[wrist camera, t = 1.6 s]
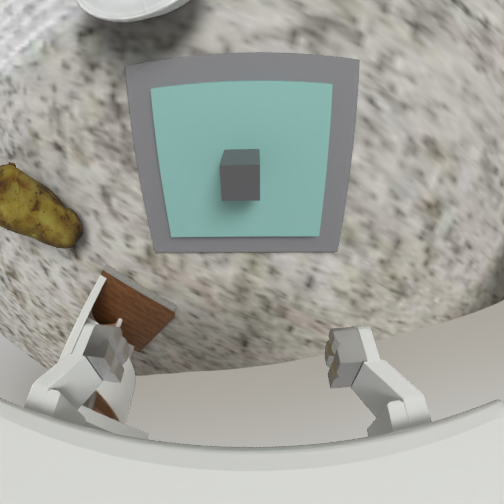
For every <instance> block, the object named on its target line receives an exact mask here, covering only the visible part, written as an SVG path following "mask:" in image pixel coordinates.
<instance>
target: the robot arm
mask: <svg viewBox="0 0 504 504" xmlns="http://www.w3.org/2000/svg"><path fill="white" fill-rule="evenodd" d="M122 333H123V332H122V330H121V328H120V327H116V326H107V325H99V324H90V323H87V324H86V325H84V327H83V329H82V331H81V334H80V336H79V338H78V341H77V343H76V345H75V348H74V350H73V352H72V354H70V353H69V354H68V355H67V356H65V357H64V358H63V359H62V360H61V361H59V362H58V363H57V364H56V365H54V366H53V367H52V368H51V369H50V370H49V371H47V372H46V373H45V374H44V375H42V376H41V377H40V378H39V379H38V380H36V381H35V382H34V383H33V385H32V388H31V390H30V393H29V395H28V398H27V401H26V404H25V406H24V407H22V406H19V405H17V404H14V403H12V402H9V401H7V400H4V399H2V398H0V504H504V402H503V401H501V400H494V401H491V402H489V403H486V404H484V405H481V406H479V407H476V408H473V409H471V410H468V411H465V412H463V413H459V414H456V415H453V416H451V417H448V418H444V419H441V420H437V421H434V422H432V421H431V418H430V414H429V411H428V408H427V404H426V401H425V398H424V395H423V394H422V393H421V392H420V391H419V390H418V389H417V388H416V387H414V386H413V385H412V384H411V383H410V382H409V381H408V380H407V379H405V378H404V377H403V376H402V375H401V374H400V373H398V372H397V371H396V370H395V369H394V368H393V367H392V366H391V365H389V364H388V363H387V362H386V361H385V360H380V357H379V354H378V350H377V347H376V345H375V341H374V338H373V335H372V332H371V329H370V327H369V326H363V327H347V328H335V329H331V330H330V332H329V339H330V340H328V341H327V342H326V346H325V361H326V365H327V366H328V367H329V368H330V369H329V373H328V378H329V383H330V388H342V387H351V389H352V390H353V391H354V392H355V393H356V394H357V395H358V397H359V398H360V399H361V400H362V401H363V403H364V404H365V405H366V406H367V407H368V408H369V410H370V411H371V412H372V413H373V414H374V415H375V416H376V419H375V421H374V422H373V423H372V424H371V426H370V427H369V428H368V429H367V432H368V437H365V438H359V439H353V440H346V441H338V442H330V443H321V444H311V445H299V446H281V447H219V446H202V445H201V446H200V445H190V444H179V443H170V442H162V441H154V440H148V439H142V438H136V437H130V436H125V435H120V434H115V433H110V432H105V431H101V430H97V429H92V428H88V427H84V426H85V422H86V419H85V417H84V416H83V415H82V414H81V413H80V412H79V411H78V409H79V408H80V407H81V406H82V405H83V404H84V403H85V401H86V400H87V399H88V398H89V397H90V396H91V395H92V394H93V393H94V391H95V390H96V389H97V388H98V387H99V386H100V385H101V384H102V383H103V381H108V382H116V383H121V380H122V376H123V373H124V368H123V364H124V363H125V362H126V361H127V359H128V355H129V346H128V342H127V340H126V339H125V338H124V337H122Z"/></svg>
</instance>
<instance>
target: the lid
mask: <svg viewBox="0 0 504 504" xmlns="http://www.w3.org/2000/svg"><path fill="white" fill-rule="evenodd" d="M332 86H333V84H330V83H317V82H302V81H274V80H248V81H219V82H204V83H192V84H181V85H172V86H164V87H157V88H152V89H151V99H152V109H153V119H154V127H155V136H156V144H157V151H158V159H159V166H160V173H161V179H162V186H163V192H164V198H165V204H166V210H167V216H168V222H169V227H170V233H171V237H250V236H319V233H320V225H321V217H322V208H323V200H324V190H325V181H326V171H327V160H328V148H329V135H330V121H331V105H332Z"/></svg>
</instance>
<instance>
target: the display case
mask: <svg viewBox="0 0 504 504" xmlns="http://www.w3.org/2000/svg"><path fill="white" fill-rule="evenodd" d="M175 310H176V305H174V304H173V303H171V302H169V301H167V300H166V299H164V298H162V297H160V296H159V295H157V294H155V293H153V292H152V291H150V290H148V289H147V288H145V287H143V286H142V285H140V284H138V283H137V282H135V281H133V280H132V279H130V278H128V277H127V276H125V275H123V274H122V273H120V272H119V271H117V270H115V269H114V268H112V267H111V266H109V265H107V264H106V266H105V267H104V269H103V271H102V273H101V275H100V277H99V278H98V280H97V282H96V284H95V286H94V288H93V290H92V291H91V293H90V295H89V297H88V299H87V301H86V303H85V305H84V307H83V309H82V311H81V313H80V315H79V317H78V319H77V321H76V323H75V325H74V327H73V330H72V332H71V334H70V336H69V338H68V340H67V343H66V345H65V347H64V349H63V352H62V354H61V356H60V359H59V361H61V360H62V359H63V358H64V357H65V356H67V355H68V354H69V353H70V354H72V352H73V350H74V348H75V345H76V343H77V341H78V338H79V336H80V334H81V331H82V329H83V327H84V325H86V324H87V323H90V324H99V325H107V326H116V327H120V328H121V330H122V332H123V333H122V337H124V338H125V339H126V340H127V342H128V346H129V355H128V359H127V361H126V362H125V363H124V364H123V368H124V373H123V376H122V380H121V383H116V382H108V381H103V383H102V384H101V385H100V386H99V387H98V388H97V389H96V390H95V391H94V393H93V394H92V395H91V396H90V397H89V398H88V399H87V400H86V401H85V403H84V404H83V405H82V406H81V407H80V408H79V409H78V411H79V412H80V413H81V414H82V415H83V416H84V417H85V419H86V422H85V426H84V427H88V428H92V429H97V430H101V431H105V432H110V433H115V434H120V435H125V436H130V437H136V438H142V439H148V433H146V432H144V431H141V430H138V429H136V428H133V427H130V426H128V425H126V422H127V417H128V414H129V409H130V405H131V401H132V396H133V393H134V389H135V383H136V378H135V372H134V368H133V365H132V363H131V361H130V360H131V357H132V353H133V350H136V351H138V352H140V351H141V350H142V349H143V348H144V347H145V346H146V345H147V344H148V343H149V342H150V341H151V340H152V339H153V338H154V337H155V336H156V335H157V334H158V333H159V332H160V331H161V330H162V329H163V328H164V327H165V326H166V325H167V324H168V323H169V322H170V320H171V319H172V318H173V317H174V314H175ZM59 361H58V362H59Z"/></svg>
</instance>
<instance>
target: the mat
mask: <svg viewBox="0 0 504 504" xmlns="http://www.w3.org/2000/svg"><path fill="white" fill-rule="evenodd" d="M359 61H360V60H357V59H350V58H342V57H333V56H324V55H312V54H297V53H264V52H256V53H223V54H208V55H196V56H187V57H178V58H170V59H163V60H157V61H150V62H145V63H139V64H134V65H129V66H125V72H126V83H127V93H128V102H129V110H130V118H131V126H132V133H133V140H134V147H135V153H136V159H137V165H138V171H139V177H140V182H141V188H142V193H143V198H144V203H145V208H146V213H147V218H148V222H149V227H150V231H151V236H152V240H153V244H154V249H155V252H337V251H338V246H339V240H340V234H341V229H342V223H343V216H344V210H345V204H346V197H347V190H348V183H349V175H350V167H351V159H352V150H353V141H354V132H355V121H356V109H357V96H358V81H359ZM248 80H274V81H302V82H317V83H330V84H333V86H332V105H331V121H330V135H329V148H328V160H327V171H326V181H325V190H324V200H323V208H322V217H321V225H320V233H319V236H250V237H171V233H170V227H169V222H168V216H167V210H166V204H165V198H164V192H163V186H162V179H161V173H160V166H159V159H158V151H157V144H156V136H155V127H154V119H153V109H152V99H151V89H152V88H157V87H164V86H172V85H181V84H192V83H204V82H219V81H248Z"/></svg>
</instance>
